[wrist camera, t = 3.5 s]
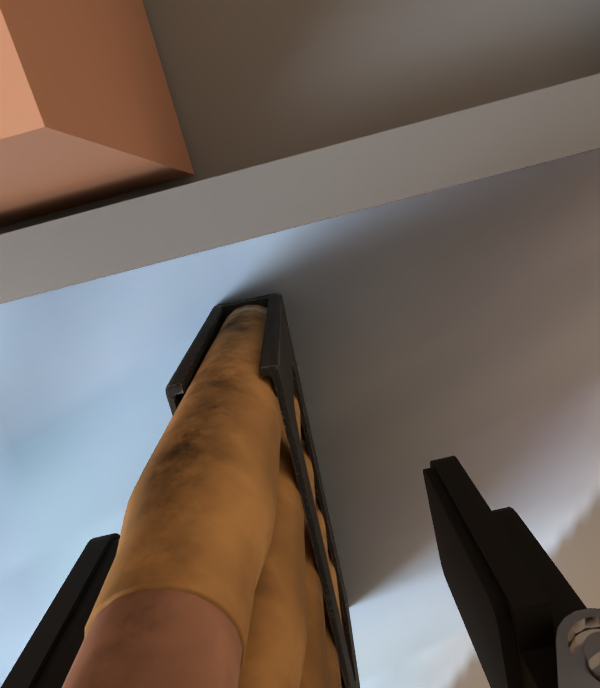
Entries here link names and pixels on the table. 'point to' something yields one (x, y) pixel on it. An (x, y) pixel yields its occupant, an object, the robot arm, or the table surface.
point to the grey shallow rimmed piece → (328, 121)
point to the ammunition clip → (226, 532)
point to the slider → (81, 106)
